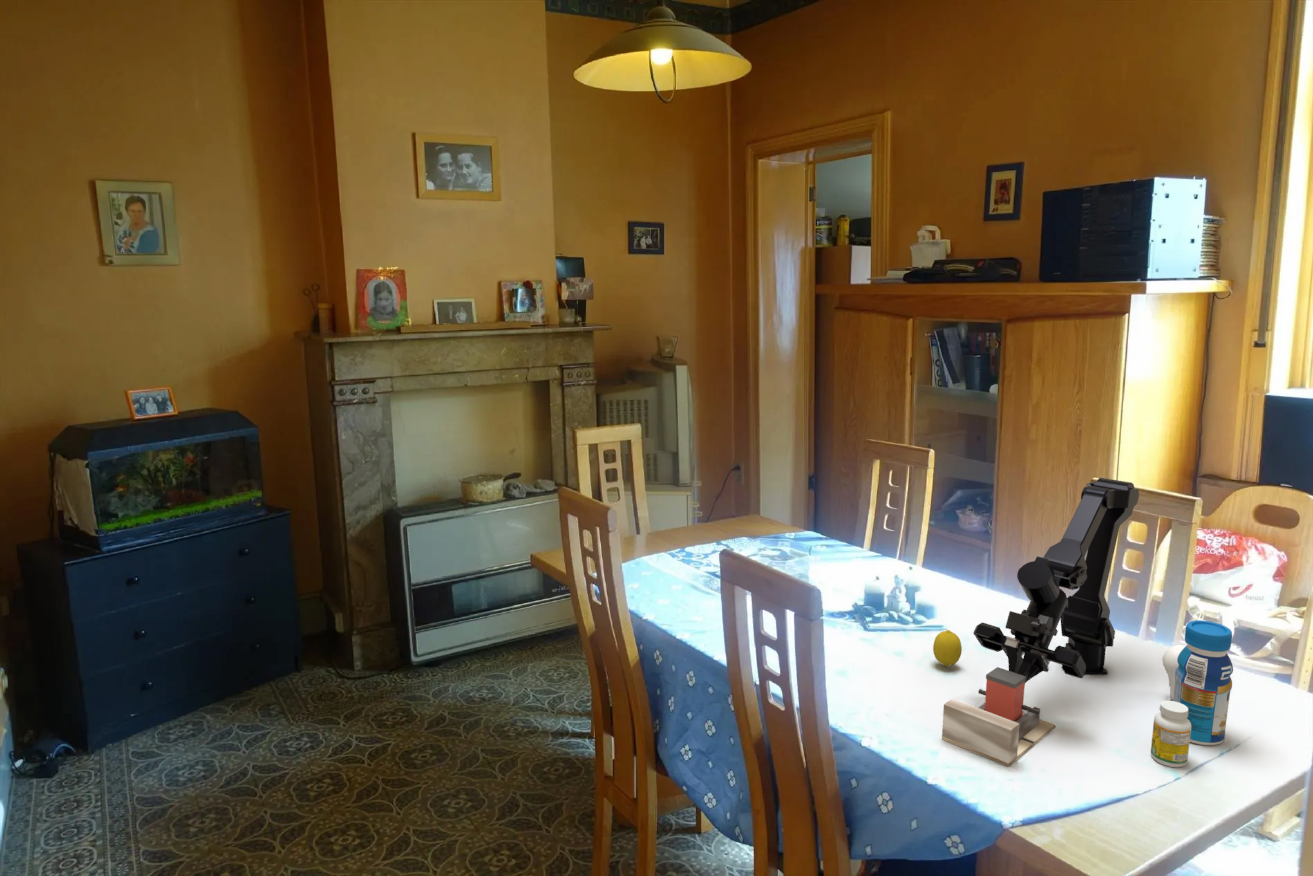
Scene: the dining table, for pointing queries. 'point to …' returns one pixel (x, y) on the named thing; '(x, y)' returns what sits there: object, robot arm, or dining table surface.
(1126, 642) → the dining table surface
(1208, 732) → the beverage bottle
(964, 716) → the beige base board
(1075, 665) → the robot arm
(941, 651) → the lemon
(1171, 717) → the supplement bottle
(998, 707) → the red plug
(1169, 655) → the lightbulb
